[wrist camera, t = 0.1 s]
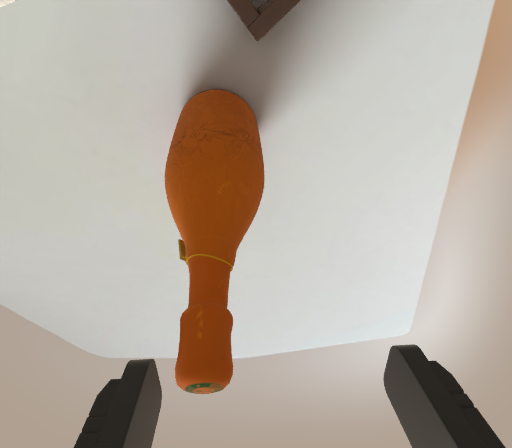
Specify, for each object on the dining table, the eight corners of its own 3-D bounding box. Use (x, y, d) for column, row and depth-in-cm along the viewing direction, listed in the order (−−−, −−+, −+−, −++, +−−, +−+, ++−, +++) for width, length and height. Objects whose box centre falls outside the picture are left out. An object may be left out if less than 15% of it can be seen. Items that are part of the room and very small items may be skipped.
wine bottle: (164, 97, 34) (62, 378, 14) (245, 73, 33) (270, 346, 12) (197, 165, 41) (163, 418, 21) (266, 147, 40) (302, 400, 19)
